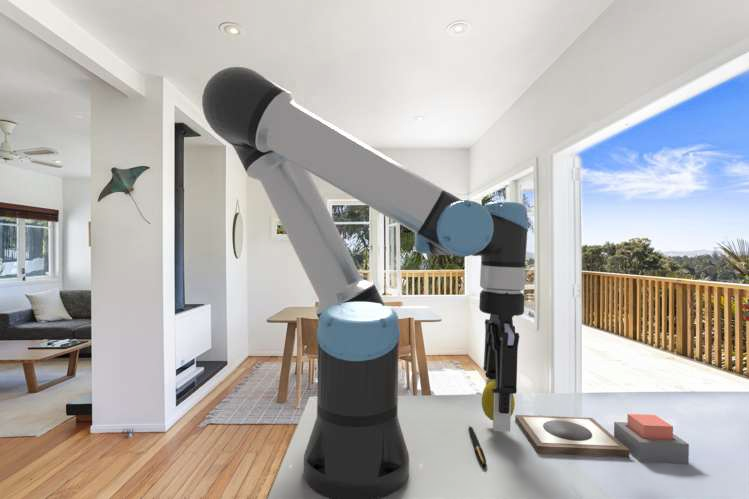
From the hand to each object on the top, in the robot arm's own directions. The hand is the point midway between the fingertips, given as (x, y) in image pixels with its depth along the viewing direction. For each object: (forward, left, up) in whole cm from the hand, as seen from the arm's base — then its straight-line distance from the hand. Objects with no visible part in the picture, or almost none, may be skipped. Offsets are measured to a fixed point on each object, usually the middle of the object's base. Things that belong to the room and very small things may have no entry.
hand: (496, 422), depth 70 cm
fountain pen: (-5, -5, -2) cm, 7 cm away
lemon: (0, 0, -1) cm, 1 cm away
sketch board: (+12, -1, -2) cm, 12 cm away
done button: (+23, -4, +1) cm, 24 cm away
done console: (+23, -4, -2) cm, 24 cm away
